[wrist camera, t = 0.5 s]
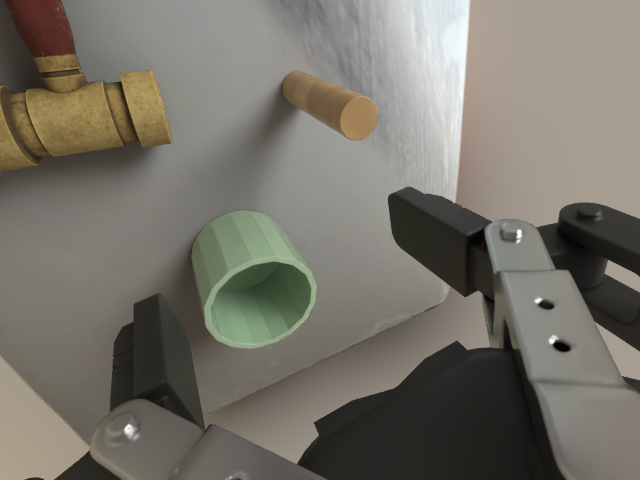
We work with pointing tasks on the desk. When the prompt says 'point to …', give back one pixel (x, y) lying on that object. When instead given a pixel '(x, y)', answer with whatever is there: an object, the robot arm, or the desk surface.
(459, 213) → the robot arm
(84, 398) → the desk surface
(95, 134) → the gavel
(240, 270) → the cup
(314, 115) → the stick
